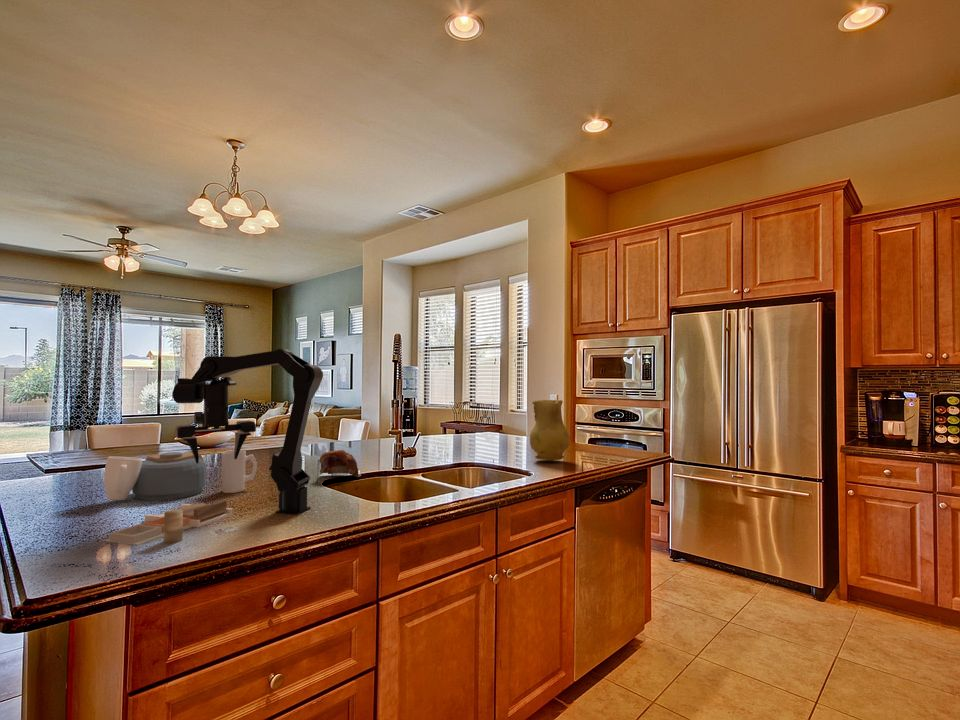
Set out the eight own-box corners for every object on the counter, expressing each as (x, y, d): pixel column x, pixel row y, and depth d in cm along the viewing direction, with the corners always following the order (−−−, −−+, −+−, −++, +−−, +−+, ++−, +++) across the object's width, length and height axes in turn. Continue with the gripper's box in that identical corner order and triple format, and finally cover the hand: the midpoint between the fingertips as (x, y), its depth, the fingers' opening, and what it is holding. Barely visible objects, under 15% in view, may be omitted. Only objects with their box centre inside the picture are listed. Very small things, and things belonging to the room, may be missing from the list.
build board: (192, 528, 119) (192, 518, 119) (137, 549, 105) (137, 537, 106) (162, 525, 121) (162, 515, 121) (105, 544, 108) (105, 533, 108)
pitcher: (528, 460, 210) (528, 401, 211) (531, 453, 229) (531, 398, 229) (569, 462, 208) (570, 401, 208) (569, 454, 226) (569, 399, 227)
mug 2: (221, 494, 152) (222, 454, 152) (220, 489, 157) (221, 451, 158) (257, 490, 156) (258, 452, 157) (255, 486, 162) (256, 449, 163)
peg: (185, 542, 110) (186, 510, 110) (172, 547, 106) (173, 514, 107) (173, 540, 111) (174, 508, 111) (159, 546, 107) (160, 513, 108)
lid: (226, 511, 128) (226, 500, 128) (197, 521, 120) (198, 510, 120) (194, 508, 131) (195, 497, 131) (164, 517, 123) (164, 506, 123)
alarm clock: (210, 483, 166) (210, 446, 166) (201, 498, 147) (202, 456, 148) (141, 488, 159) (142, 450, 159) (123, 504, 140) (124, 460, 140)
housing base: (232, 516, 129) (232, 508, 129) (197, 529, 119) (197, 520, 119) (182, 511, 133) (182, 503, 134) (144, 523, 123) (144, 515, 123)
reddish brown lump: (366, 474, 181) (366, 447, 182) (348, 482, 169) (348, 452, 169) (327, 472, 186) (327, 445, 186) (307, 479, 173) (307, 450, 174)
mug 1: (99, 496, 142) (108, 455, 144) (134, 497, 147) (142, 457, 149) (96, 502, 132) (106, 459, 134) (134, 503, 137) (143, 461, 139)
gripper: (246, 400, 147) (246, 453, 147) (172, 403, 136) (172, 461, 135) (256, 401, 138) (256, 458, 138) (177, 405, 127) (178, 467, 127)
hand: (216, 461), depth 135 cm, fingers open, 9 cm apart
